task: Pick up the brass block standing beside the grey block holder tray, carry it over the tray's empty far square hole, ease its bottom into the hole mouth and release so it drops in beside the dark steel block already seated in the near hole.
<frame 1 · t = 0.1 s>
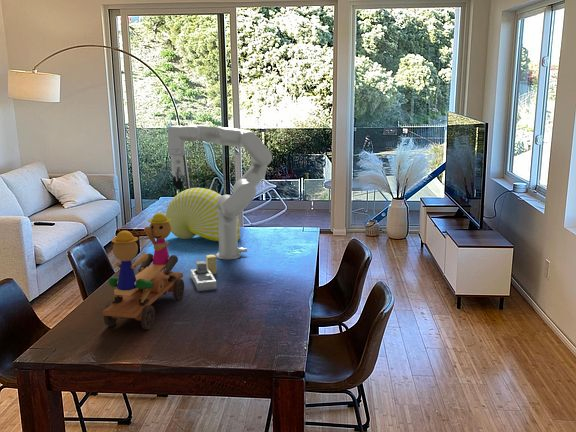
hand: (178, 187, 276), 37 cm above the table, tool pointing down, fingers open, 9 cm apart
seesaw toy: (147, 312, 221), on the table
brass block: (211, 272, 266), on the table
grey block holder tray: (203, 282, 252), on the table
seated steel block: (201, 279, 257), resting in grey block holder tray
shell: (203, 239, 324), on the table
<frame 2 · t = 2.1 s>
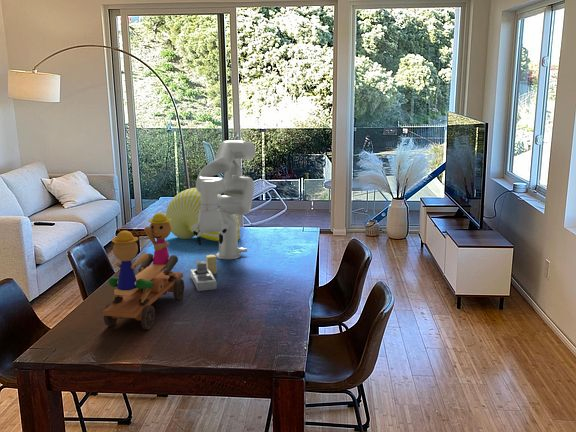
hand: (210, 243, 263), 14 cm above the table, tool pointing down, fingers open, 9 cm apart
nothing on the table moved.
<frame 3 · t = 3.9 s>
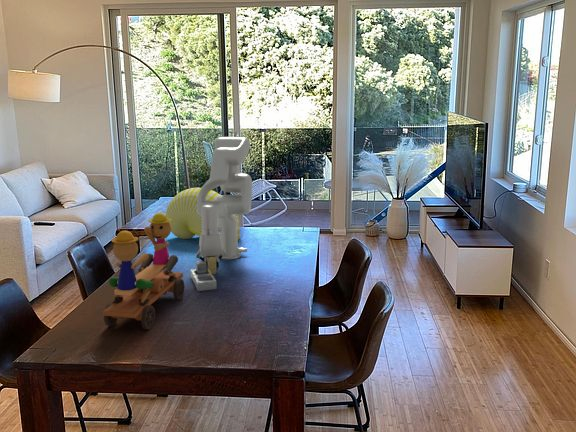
hand: (211, 269, 266), 2 cm above the table, tool pointing down, fingers closed on brass block, 4 cm apart
brass block: (211, 272, 266), on the table, touching gripper
everything else where it was.
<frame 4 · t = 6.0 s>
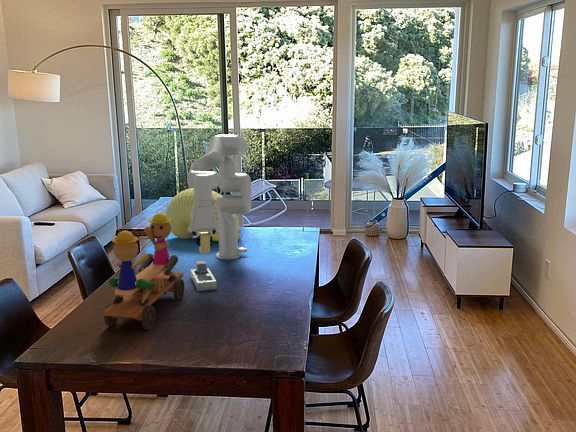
hand: (204, 244, 246), 18 cm above the table, tool pointing down, fingers closed on brass block, 4 cm apart
brass block: (204, 251, 246), point 15 cm above the table, tilted 5°, touching gripper
everything else where it was.
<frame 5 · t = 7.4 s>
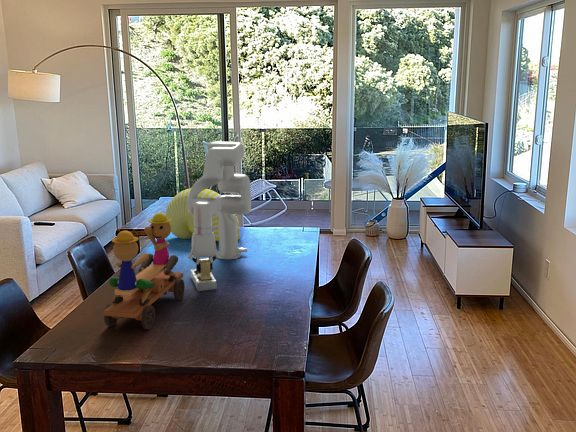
hand: (204, 271, 247), 7 cm above the table, tool pointing down, fingers closed on brass block, 4 cm apart
brass block: (204, 278, 247), point 4 cm above the table, tilted 6°, touching gripper
everything else where it was.
when the fingers open (4 cm above the table, at t = 8.1 s): brass block drops 1 cm, resting in grey block holder tray.
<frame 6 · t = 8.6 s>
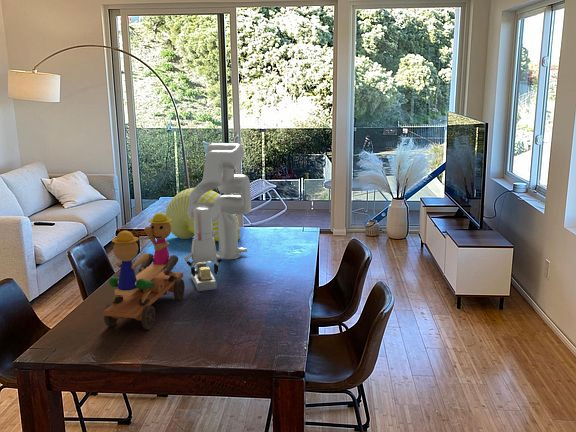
hand: (204, 274, 247), 5 cm above the table, tool pointing down, fingers open, 9 cm apart
brass block: (205, 286, 248), resting in grey block holder tray
everything else where it was.
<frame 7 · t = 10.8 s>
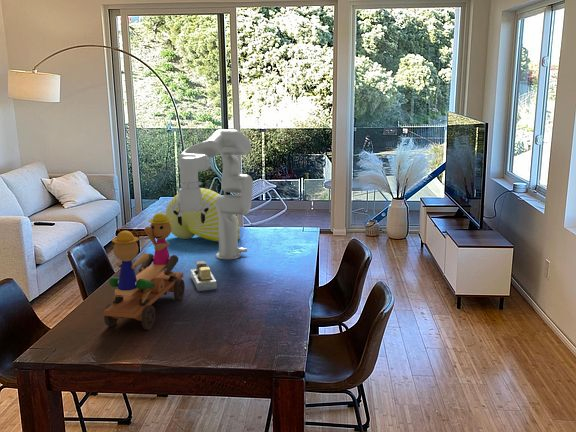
hand: (191, 223, 252), 25 cm above the table, tool pointing down, fingers open, 9 cm apart
nothing on the table moved.
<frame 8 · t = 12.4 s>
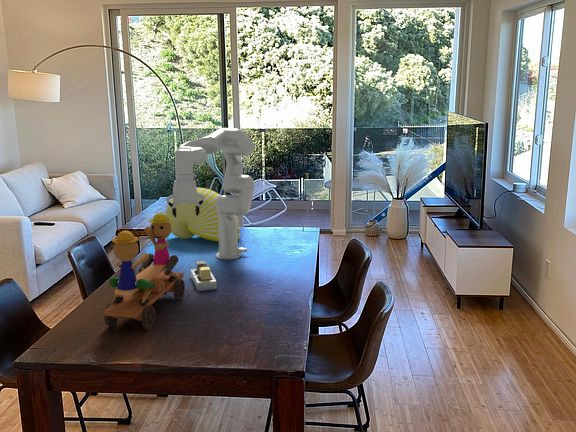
hand: (186, 215, 254), 28 cm above the table, tool pointing down, fingers open, 9 cm apart
nothing on the table moved.
at the end: brass block 0.1 cm from the target spot on the grey block holder tray, point 0.0 cm above the grey block holder tray's base; brass block tilted 0°; the gripper is holding nothing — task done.
